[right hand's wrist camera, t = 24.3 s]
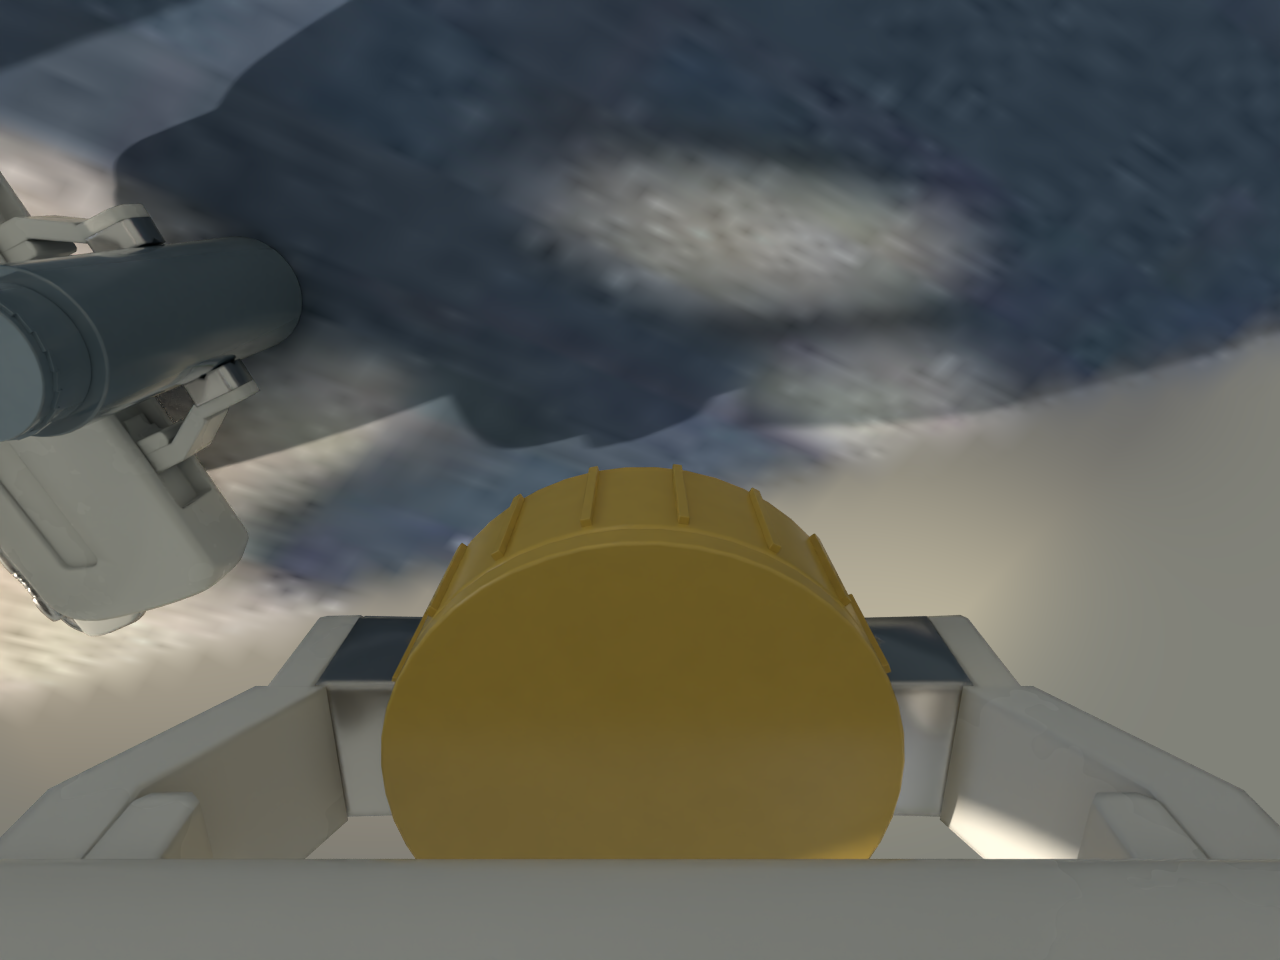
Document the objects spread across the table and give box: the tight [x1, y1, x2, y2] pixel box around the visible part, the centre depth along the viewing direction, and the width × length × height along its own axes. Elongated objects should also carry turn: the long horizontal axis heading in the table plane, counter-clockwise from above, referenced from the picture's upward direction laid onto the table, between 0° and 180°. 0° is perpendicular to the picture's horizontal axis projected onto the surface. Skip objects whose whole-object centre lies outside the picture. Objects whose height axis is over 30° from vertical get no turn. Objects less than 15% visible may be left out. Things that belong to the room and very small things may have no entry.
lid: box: [381, 464, 905, 859], centre depth 9 cm, size 6×6×2 cm
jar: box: [0, 236, 302, 442], centre depth 27 cm, size 5×5×16 cm
